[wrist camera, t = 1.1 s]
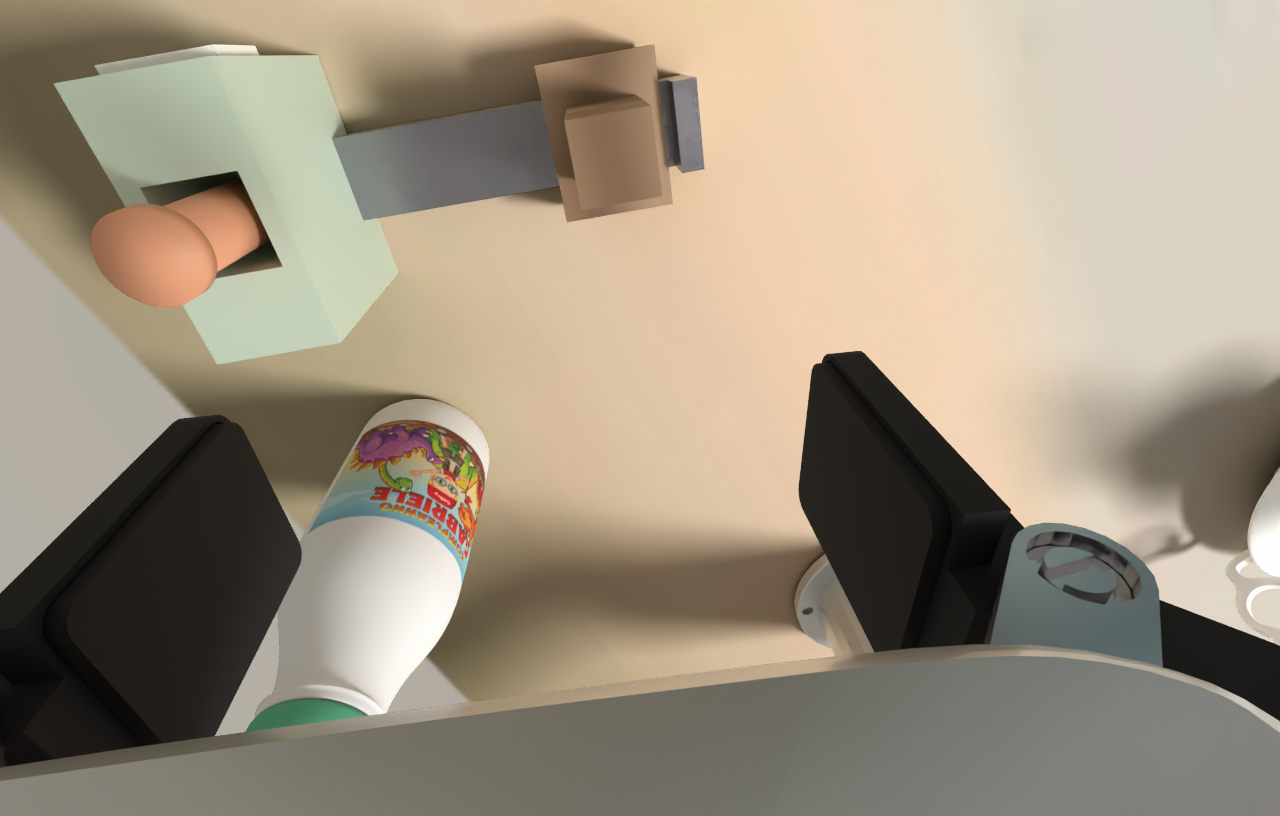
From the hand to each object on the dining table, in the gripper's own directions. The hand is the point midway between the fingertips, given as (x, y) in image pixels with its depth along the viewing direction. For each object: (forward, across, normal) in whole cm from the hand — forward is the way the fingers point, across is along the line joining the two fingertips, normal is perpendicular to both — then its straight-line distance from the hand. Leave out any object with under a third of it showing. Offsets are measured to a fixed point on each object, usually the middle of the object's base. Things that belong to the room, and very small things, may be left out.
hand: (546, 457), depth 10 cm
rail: (+24, +2, -2) cm, 24 cm away
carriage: (+24, -2, -2) cm, 24 cm away
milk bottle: (+24, +10, +15) cm, 30 cm away
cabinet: (+24, +12, -1) cm, 27 cm away
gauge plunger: (+18, +12, -1) cm, 21 cm away
